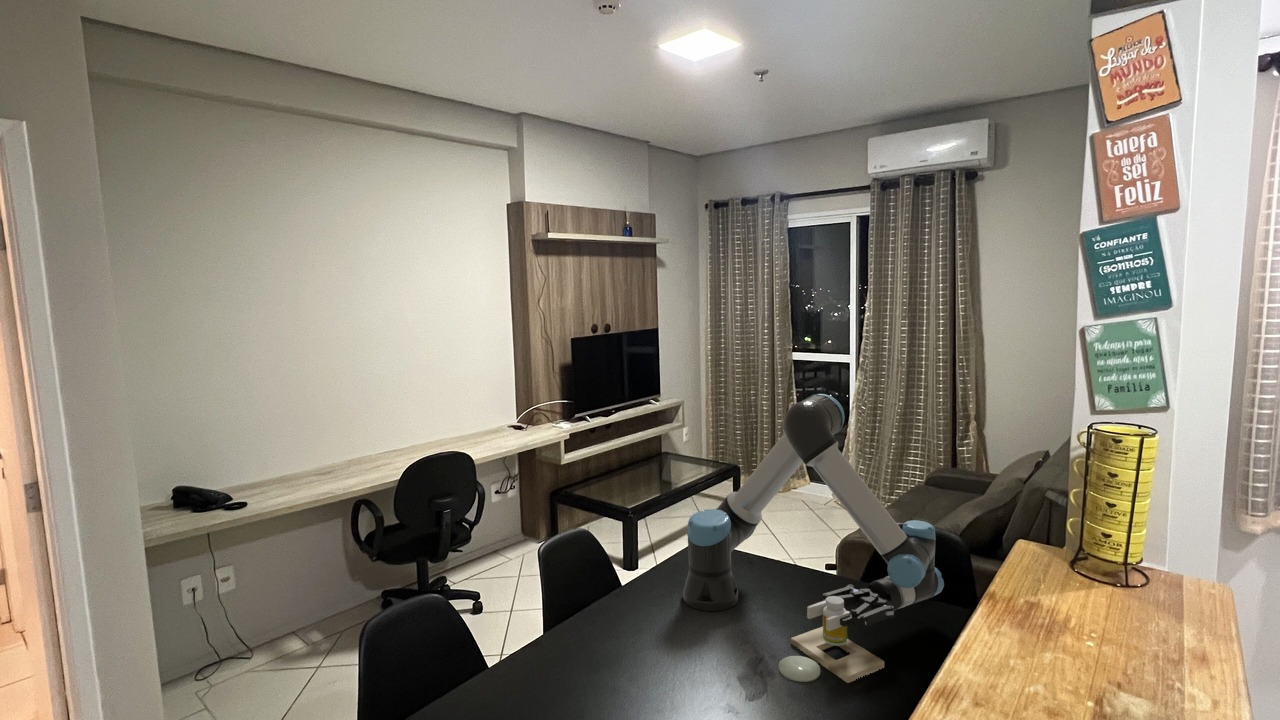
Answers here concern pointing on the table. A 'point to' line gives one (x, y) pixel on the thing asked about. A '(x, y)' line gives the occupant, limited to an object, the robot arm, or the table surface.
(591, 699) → the table surface
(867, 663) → the socket plate
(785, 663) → the pale green oval pebble
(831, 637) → the supplement bottle
